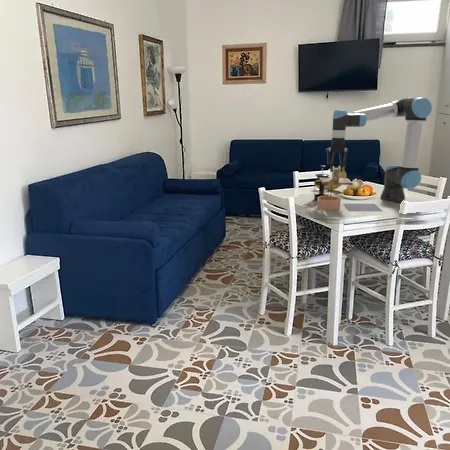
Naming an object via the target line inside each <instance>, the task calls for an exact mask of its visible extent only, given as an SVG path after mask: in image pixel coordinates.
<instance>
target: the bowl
mask: <svg viewBox="0 0 450 450" xmlns="http://www.w3.org/2000/svg"><path fill="white" fill-rule="evenodd" d="M316 202H317V204H316V208H317V209H318V210H319V211H326V210H327V211H328V210H329V211H333V210H334V211H335V210H339V209H341V197H340V196H335V195H331V196H320V197H318V200H317V201H316Z"/></svg>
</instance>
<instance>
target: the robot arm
mask: <svg viewBox="0 0 450 450" xmlns="http://www.w3.org/2000/svg"><path fill="white" fill-rule="evenodd" d="M432 111H433V104H432V102H431V101H430V99H429V98H426V97H423V96H418V97H417V96H415V97H405V98H401V99H397V100H394V101H390V103H387V104H383V105H378V106H374V107H373V106H372V107H368V108H364V109H358V110H355V111H349V112H348V111H347V110H346V109H335V110H334V111H333V115H332V128H331V129H332V130H331V141H330V143H331V144H330V146H329V147H328V148H327V147H326V149H325V151H326V155H327V156H326V157H327V158H326V160H327V161H326V162H327V164H326V165H328V166H329V167H330V169H329V170H330V173H331V177H330V178H333V177H334V168H335V166H334V164H335V160H336V159H335V158H336V155H337V154H338V158H339V165H338V167H337V168H339V169H340V173H341V172H342V167H343V166H345V165H346V166H347V159H348V154H349V152H350V149H349V148H347V147H346V146H345V145H346V144H345V141H346V139H345V138H346V129H347V128H349V127H351V128H353V127H354V128H362V127H365V126H366V124H367V122H371V121H375V120H380V119H384V118H385V119H386V118H389V117H392V118H397V117H402V118H403V117H405V118H404V120H405V122H406V131H405V137H404V145H403V150H402V151H403V152H402V159H401V163H400V164H388V165H386V166H385V173H384V186H383V190H382V191H381V195H380V200H383V201H385V202H386V201H387V202H394V203H402V202H401V201H403V200H406V196H405V195H406V194H405V191H404V189H409V190H412V189H414V188H416V187H418V186H419V184H420V183H421V181H422V174H421V173H420V172H419V169H420V167H419V165H418V158H419V151H420V145H421V139H422V138H421V137H422V132H423V125H424V124H425V123H426V122H427V117H429V116H430V115H431V113H432ZM331 151H332V156H331V153H330V152H331ZM343 152H344V156H343ZM346 166H345V167H346ZM340 173H339V178H340ZM403 202H404V201H403Z"/></svg>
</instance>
